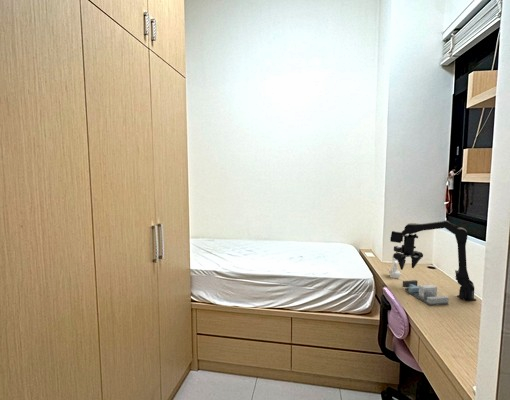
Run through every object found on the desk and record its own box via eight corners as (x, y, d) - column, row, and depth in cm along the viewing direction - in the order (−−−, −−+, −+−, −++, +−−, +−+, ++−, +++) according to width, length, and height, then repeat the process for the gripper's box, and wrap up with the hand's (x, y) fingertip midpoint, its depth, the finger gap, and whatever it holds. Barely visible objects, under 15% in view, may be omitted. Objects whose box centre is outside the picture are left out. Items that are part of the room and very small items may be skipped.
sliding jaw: (417, 285, 178) (417, 280, 177) (428, 291, 169) (428, 285, 168) (401, 286, 176) (401, 281, 175) (411, 292, 167) (411, 286, 167)
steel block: (431, 294, 164) (431, 284, 164) (436, 297, 161) (437, 287, 160) (418, 295, 163) (419, 285, 163) (423, 298, 159) (424, 288, 159)
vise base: (421, 289, 174) (421, 284, 173) (448, 304, 155) (448, 297, 154) (405, 291, 172) (405, 285, 172) (430, 305, 153) (430, 299, 152)
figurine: (389, 278, 193) (390, 256, 191) (387, 274, 202) (388, 253, 200) (401, 279, 190) (402, 257, 189) (398, 275, 199) (399, 254, 198)
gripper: (409, 240, 186) (407, 263, 188) (386, 242, 180) (385, 266, 181) (424, 244, 176) (422, 268, 178) (401, 246, 169) (399, 272, 171)
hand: (407, 268), depth 177 cm, fingers open, 9 cm apart
